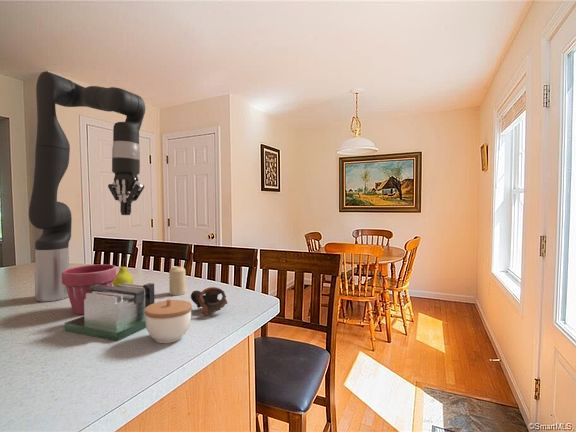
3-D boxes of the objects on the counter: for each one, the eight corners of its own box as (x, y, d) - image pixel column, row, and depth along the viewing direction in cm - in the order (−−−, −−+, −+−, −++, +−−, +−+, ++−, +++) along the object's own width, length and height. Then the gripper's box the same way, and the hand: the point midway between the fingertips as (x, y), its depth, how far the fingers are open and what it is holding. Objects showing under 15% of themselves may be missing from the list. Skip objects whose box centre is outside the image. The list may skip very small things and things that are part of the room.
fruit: (127, 293, 116) (126, 260, 115) (108, 292, 116) (108, 260, 116) (136, 288, 123) (136, 257, 122) (119, 287, 123) (118, 257, 122)
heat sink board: (64, 330, 81) (63, 288, 81) (117, 311, 96) (117, 275, 96) (117, 341, 75) (116, 295, 74) (165, 318, 90) (165, 280, 89)
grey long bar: (90, 296, 87) (89, 285, 87) (98, 294, 89) (98, 283, 89) (136, 303, 81) (136, 292, 81) (144, 300, 84) (143, 289, 84)
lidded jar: (164, 351, 70) (163, 309, 69) (135, 340, 75) (134, 301, 75) (201, 335, 79) (201, 297, 78) (173, 326, 84) (172, 291, 84)
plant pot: (50, 314, 93) (49, 271, 93) (94, 300, 106) (93, 262, 106) (85, 320, 88) (84, 274, 88) (127, 305, 102) (126, 265, 101)
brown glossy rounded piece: (231, 307, 101) (232, 289, 97) (218, 330, 93) (219, 311, 89) (196, 296, 103) (197, 277, 99) (181, 318, 95) (180, 298, 91)
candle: (188, 291, 118) (187, 264, 117) (181, 295, 112) (181, 267, 112) (173, 291, 118) (173, 264, 118) (166, 295, 113) (166, 267, 113)
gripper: (152, 159, 97) (151, 215, 98) (120, 160, 102) (120, 214, 103) (132, 155, 90) (131, 216, 91) (99, 156, 95) (99, 214, 96)
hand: (125, 214), depth 97 cm, fingers closed
